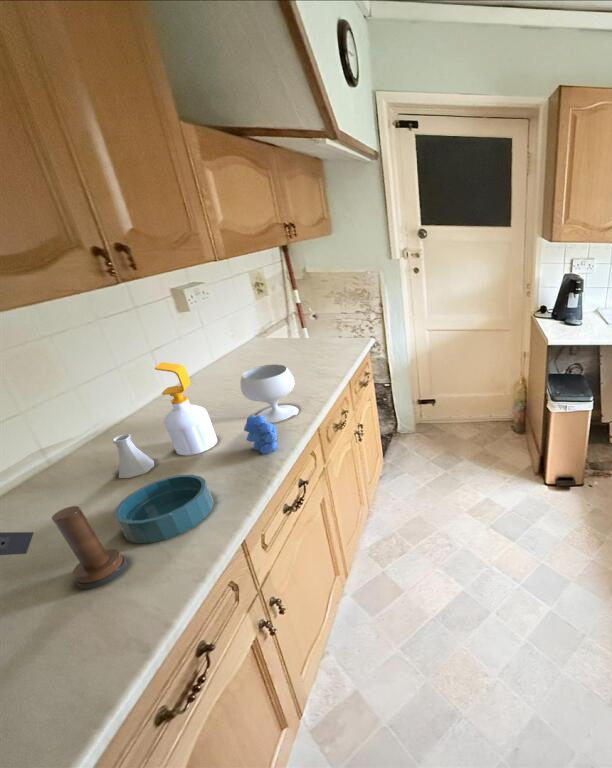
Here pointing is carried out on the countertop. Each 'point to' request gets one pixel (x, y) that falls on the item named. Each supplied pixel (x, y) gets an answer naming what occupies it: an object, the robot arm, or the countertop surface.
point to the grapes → (261, 434)
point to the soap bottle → (186, 417)
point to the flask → (131, 458)
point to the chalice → (269, 390)
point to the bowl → (164, 508)
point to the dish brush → (88, 550)
